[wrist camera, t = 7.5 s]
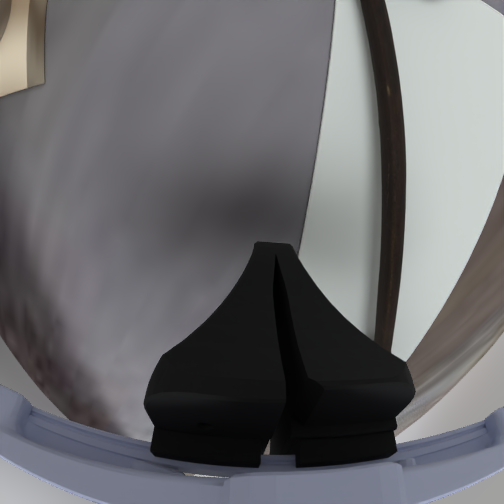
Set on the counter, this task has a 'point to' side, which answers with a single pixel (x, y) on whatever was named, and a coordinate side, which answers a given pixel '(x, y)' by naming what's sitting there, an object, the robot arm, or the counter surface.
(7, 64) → the cup on beige base
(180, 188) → the counter surface
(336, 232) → the tool mat
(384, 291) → the dark brown hooked rod
